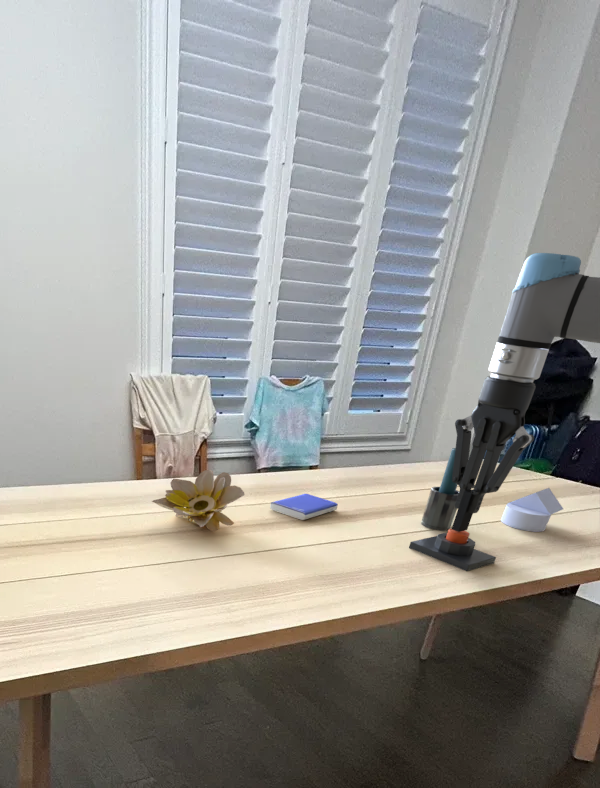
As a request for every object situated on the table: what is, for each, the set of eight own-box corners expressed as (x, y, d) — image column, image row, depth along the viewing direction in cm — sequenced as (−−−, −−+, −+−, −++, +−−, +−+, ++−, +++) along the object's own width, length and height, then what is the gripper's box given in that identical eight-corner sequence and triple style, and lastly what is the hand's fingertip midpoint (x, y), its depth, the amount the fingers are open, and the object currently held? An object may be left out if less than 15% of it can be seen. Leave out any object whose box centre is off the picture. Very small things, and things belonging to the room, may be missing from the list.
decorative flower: (136, 504, 113) (152, 447, 108) (178, 511, 121) (195, 457, 117) (193, 536, 105) (212, 476, 101) (234, 541, 114) (254, 485, 109)
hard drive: (305, 512, 121) (338, 503, 129) (270, 501, 125) (304, 492, 133) (303, 520, 122) (336, 510, 130) (269, 509, 126) (303, 500, 134)
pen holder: (455, 528, 128) (467, 493, 124) (439, 532, 124) (451, 496, 120) (431, 520, 131) (442, 485, 127) (415, 523, 128) (425, 488, 124)
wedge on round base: (516, 512, 143) (494, 521, 135) (528, 482, 140) (506, 489, 131) (557, 524, 139) (536, 534, 130) (570, 493, 135) (550, 501, 127)
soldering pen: (447, 524, 127) (471, 451, 119) (438, 526, 126) (462, 452, 118) (434, 520, 129) (457, 447, 121) (426, 521, 127) (449, 448, 120)
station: (494, 563, 112) (500, 547, 110) (466, 571, 107) (472, 554, 105) (436, 541, 119) (441, 525, 118) (408, 548, 114) (413, 531, 113)
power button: (470, 543, 112) (473, 533, 111) (459, 546, 110) (462, 536, 109) (452, 536, 114) (455, 527, 113) (441, 539, 112) (444, 529, 111)
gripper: (461, 370, 99) (415, 520, 113) (540, 385, 91) (480, 544, 105) (486, 371, 103) (439, 515, 117) (563, 386, 95) (503, 539, 109)
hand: (459, 529), depth 111 cm, fingers closed
